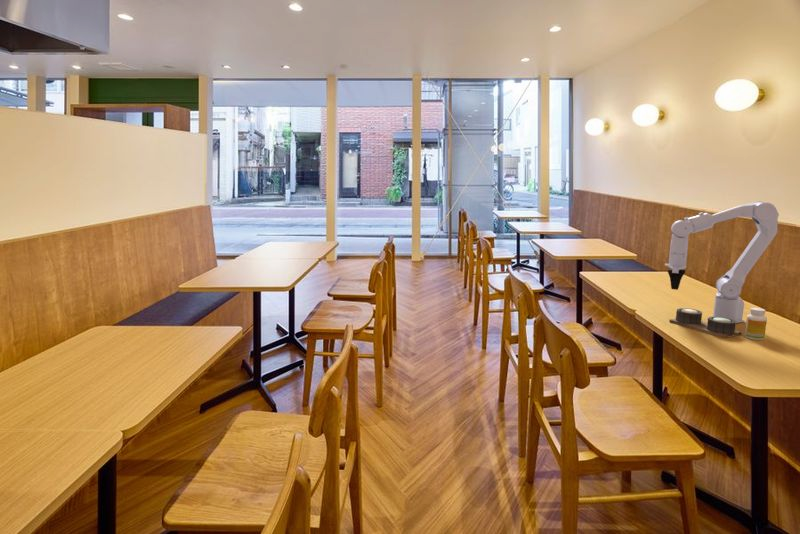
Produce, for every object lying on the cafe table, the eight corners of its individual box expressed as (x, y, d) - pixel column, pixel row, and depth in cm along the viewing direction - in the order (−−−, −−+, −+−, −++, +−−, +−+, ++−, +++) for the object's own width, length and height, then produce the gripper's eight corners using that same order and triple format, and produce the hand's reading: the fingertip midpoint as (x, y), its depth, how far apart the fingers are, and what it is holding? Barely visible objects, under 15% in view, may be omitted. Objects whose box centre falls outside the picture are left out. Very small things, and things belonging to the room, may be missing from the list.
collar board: (686, 319, 188) (688, 307, 187) (741, 334, 170) (742, 321, 169) (669, 321, 184) (670, 309, 184) (722, 337, 166) (724, 324, 165)
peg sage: (718, 326, 175) (719, 316, 174) (732, 330, 170) (734, 320, 170) (708, 328, 173) (709, 318, 172) (722, 332, 168) (724, 322, 168)
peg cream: (686, 317, 186) (687, 308, 185) (699, 321, 181) (700, 311, 180) (677, 319, 184) (678, 309, 183) (689, 323, 179) (690, 313, 178)
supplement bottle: (767, 340, 163) (771, 311, 161) (748, 339, 164) (752, 310, 163) (759, 335, 168) (763, 307, 167) (741, 334, 169) (744, 306, 168)
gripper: (667, 249, 196) (664, 284, 198) (664, 254, 183) (660, 291, 186) (688, 251, 192) (685, 286, 194) (686, 256, 180) (682, 293, 182)
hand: (674, 289), depth 190 cm, fingers closed
